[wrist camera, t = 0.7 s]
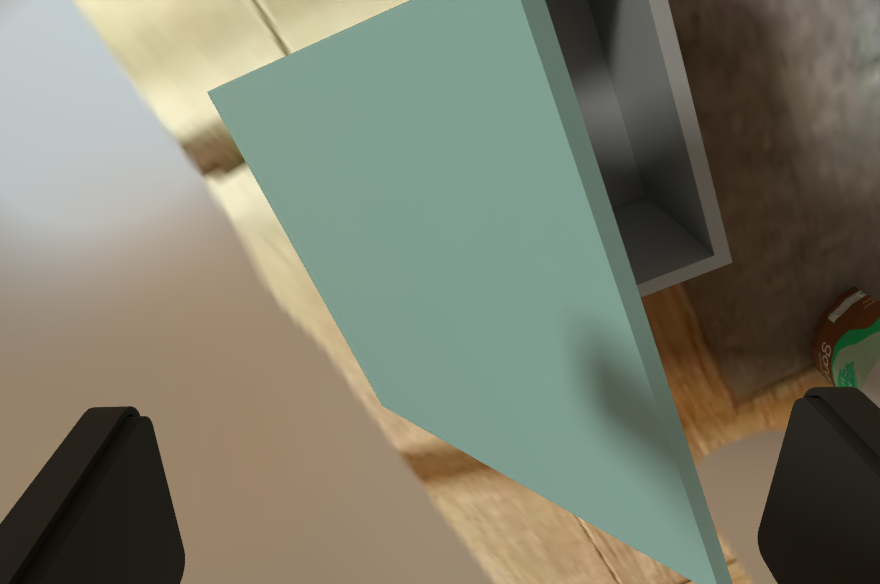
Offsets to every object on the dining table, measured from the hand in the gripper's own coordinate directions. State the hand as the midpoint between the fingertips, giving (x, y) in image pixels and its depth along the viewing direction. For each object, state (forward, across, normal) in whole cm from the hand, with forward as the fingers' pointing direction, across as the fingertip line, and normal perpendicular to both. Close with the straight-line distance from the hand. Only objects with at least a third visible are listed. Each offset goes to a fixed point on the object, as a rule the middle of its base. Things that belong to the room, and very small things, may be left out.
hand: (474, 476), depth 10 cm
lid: (+15, +1, +4) cm, 15 cm away
